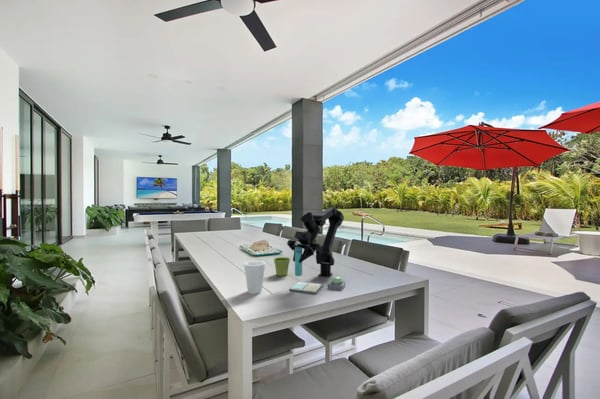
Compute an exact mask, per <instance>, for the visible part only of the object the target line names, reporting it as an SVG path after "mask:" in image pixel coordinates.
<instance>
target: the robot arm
mask: <svg viewBox="0 0 600 399" xmlns="http://www.w3.org/2000/svg"><path fill="white" fill-rule="evenodd" d="M327 220H328V223H329V225H328V229H327V231H326V232H327V233H326V235H325V237H324V238H325V239H324V241H323V244H322V246H321V245H320V243H316V242H317V237H318V235H321V234H322V231H321V228H320V227H323V226H324V225H325V224H327V222H326V221H327ZM344 220H345V217H344V214H343V213H342V212H341V211H340V210H338V209H337V208H336V207H334V206H332V207H331V206H329V207H327V208H326V209H324V210H323V211H321V212H320V213H314V214H312V212H309V211H308V212H307V213H305V214H304V215H302V216H301V218H300V221H301V223H302V225H303V228H305V229H306V231H305V232H304V231H303V232H302V231H298V230H296V231H295V234H294V237H293V238H294V240H293V239H289V240H288V241H287V242H286V244H287V246H288V247H289V248H290V250H291V251H293V258H292V261H293V262H294V263H295V247H302V250H303V251H302V256H301V258H300V260H299V262H300V263H301V262H302V263H303V262H304V261H305V260H307V259H308V258H310V257H311V256H312V257H313V256H315V260H316V264H317V265H320V266H319V268H320V271H319V272H320V273H319V274H318V275H317V276H318V277H324V278H325V277H326V278H327V277H328V278H330V277H332V275H333V272H331V270H332V266H335V258H334V256H333V255H334V254H333V250H332V246H333V244H334V241H335V237H336V233H337V230H338V228H339V227H340V226H342V224H343V222H344ZM295 239H296V240H297V241H298V242H297V241H296V240H295Z"/></svg>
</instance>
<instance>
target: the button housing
mask: <svg viewBox="0 0 600 399" xmlns="http://www.w3.org/2000/svg"><path fill="white" fill-rule="evenodd" d="M345 287H346V280H345V281H343V280H341V285H338V284H332V279H331V280H330V281H329V282H328V284H327V289H330V290H331V289H332V290H333V289H334V290H340V291H343V290H344V288H345Z"/></svg>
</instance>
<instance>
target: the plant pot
mask: <svg viewBox="0 0 600 399" xmlns="http://www.w3.org/2000/svg"><path fill="white" fill-rule="evenodd" d="M273 261H274V265H275V274H276V276H278V277H284V276H288V273H289V265H290V261H291V258H290V257H286V256H285V257H284V256H283V257H282V256H280V257H279V256H278V257H274V258H273Z"/></svg>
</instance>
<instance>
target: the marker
mask: <svg viewBox="0 0 600 399" xmlns="http://www.w3.org/2000/svg"><path fill="white" fill-rule="evenodd" d="M302 254H303V249H302V247H295V262H294V275H295V277H300V276H301V277H302V276H303V262H301V263H300V262H299V260H300V258H301V256H302Z"/></svg>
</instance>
